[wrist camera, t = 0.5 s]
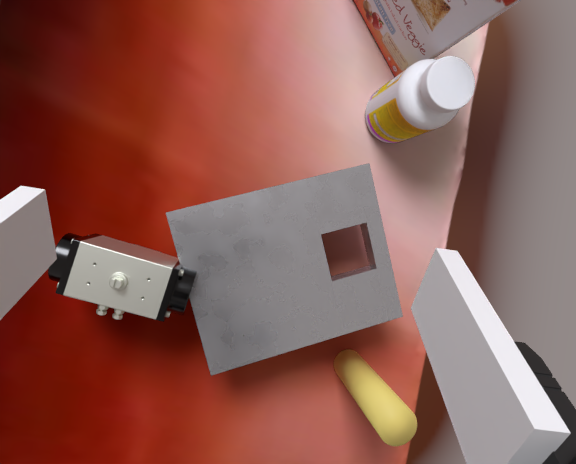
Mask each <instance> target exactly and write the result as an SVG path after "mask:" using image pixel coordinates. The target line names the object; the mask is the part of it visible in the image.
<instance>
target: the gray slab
mask: <svg viewBox="0 0 576 464" xmlns="http://www.w3.org/2000/svg"><path fill="white" fill-rule="evenodd" d="M166 215H167V219H168V222H169V226H170V230H171V233H172V237H173V240H174V244H175V248H176V251H177V255H178V258H179V262H180V264H181V265H182V266H183V267H185V268H188V269H191V270H195V271H197V274H196V277H195V280H194V283H193V286H192V289H191V292H190V295H189V298H190V302H191V305H192V309H193V312H194V316H195V320H196V323H197V327H198V331H199V334H200V338H201V341H202V345H203V349H204V352H205V356H206V359H207V363H208V367H209V370H210V374H211V375H215V374H218V373H221V372H224V371H228V370H231V369H234V368H237V367H241V366H244V365H247V364H250V363H254V362H257V361H260V360H263V359H267V358H270V357H273V356H276V355H280V354H283V353H286V352H289V351H292V350H296V349H299V348H302V347H305V346H309V345H312V344H315V343H318V342H322V341H325V340H328V339H331V338H335V337H338V336H341V335H344V334H348V333H351V332H354V331H357V330H361V329H364V328H367V327H370V326H374V325H377V324H380V323H383V322H387V321H390V320H393V319H396V318H400V317H403V315H402V311H401V306H400V301H399V297H398V292H397V288H396V283H395V278H394V274H393V269H392V265H391V260H390V256H389V251H388V246H387V242H386V237H385V233H384V228H383V224H382V219H381V214H380V210H379V205H378V201H377V196H376V191H375V187H374V182H373V178H372V173H371V169H370V164H369V163H368V164H364V165H360V166H356V167H352V168H348V169H344V170H340V171H335V172H331V173H327V174H323V175H319V176H315V177H311V178H307V179H302V180H298V181H294V182H290V183H286V184H282V185H278V186H274V187H270V188H265V189H261V190H257V191H253V192H249V193H245V194H241V195H237V196H233V197H228V198H224V199H220V200H216V201H212V202H208V203H204V204H200V205H195V206H191V207H187V208H183V209H179V210H175V211H171V212H167V213H166ZM358 224H360V226H361V230H362V235H363V239H364V243H365V248H366V252H367V257H368V261H369V266H366V267H362V268H359V269H355V270H352V271H348V272H345V273H341V274H338V275H334V276H331V275H330V271H329V267H328V262H327V258H326V254H325V250H324V246H323V241H322V237H321V234H325V233H328V232H332V231H336V230H340V229H343V228H347V227H351V226H355V225H358Z"/></svg>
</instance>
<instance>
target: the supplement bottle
mask: <svg viewBox="0 0 576 464" xmlns="http://www.w3.org/2000/svg"><path fill="white" fill-rule="evenodd" d="M474 88H475V79H474V75H473V72H472V70H471V68H470V67H469V65H468V64H467V63H466V62H465V61H464V60H462V59H460V58H458V57H454V56H446V57H443V58H440V59H438V60H437V59H425V60H421V61H418V62H416V63H414V64H413V65H411V66H410V67H408V68H407V69H406V70H404V71H403V72H402V73H400V74H399V75H398V76H396V77H395V78H394V79H392V80H391V81H389V82H388V83H387V84H385V85H384V86H383V87H381V88H380V89H379V90H377V91H376V92H375V93H374V94H373V95H372V96H371V98H370V99H369V101H368V103H367V106H366V110H365V119H366V124H367V126H368V128H369V130H370V132H371V133H372V134H373V135H374V136H375V137H376V138H377V139H379V140H381V141H383V142H386V143H398V142H401V141H404V140H407V139H410V138H412V137H415V136H418V135H420V134H423V133H426V132H428V131H431V130H434V129H437V128H439V127H442V126H444V125H446V124H447V123H448V122H450V121H451V120H452V119H453V118H454V117H455V115H456V114H457V112H458V110H459V109H460V108H461V107H463V106H464V105H466V104H467V103H468V102H469V100H470V99H471V97H472V95H473V92H474Z"/></svg>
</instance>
